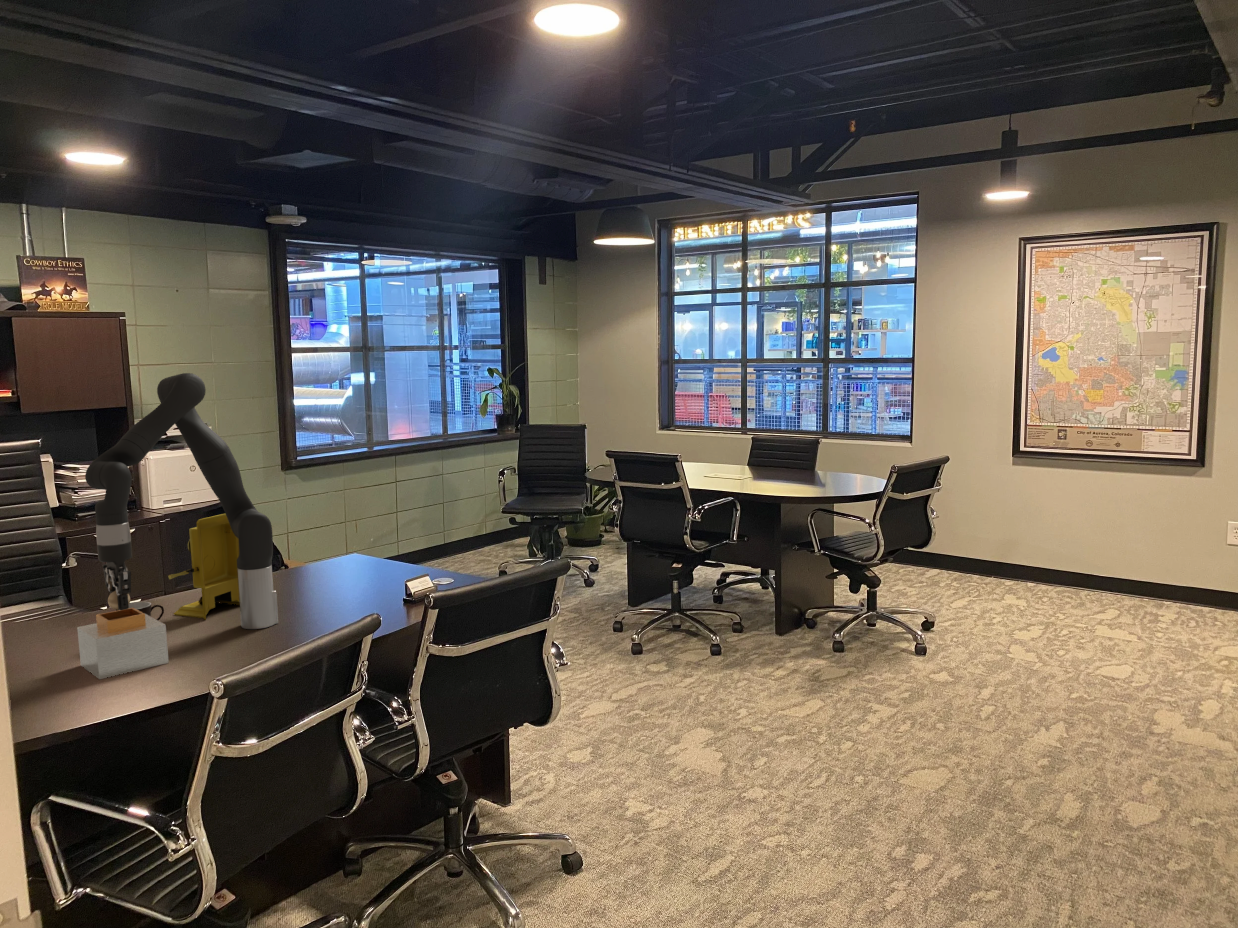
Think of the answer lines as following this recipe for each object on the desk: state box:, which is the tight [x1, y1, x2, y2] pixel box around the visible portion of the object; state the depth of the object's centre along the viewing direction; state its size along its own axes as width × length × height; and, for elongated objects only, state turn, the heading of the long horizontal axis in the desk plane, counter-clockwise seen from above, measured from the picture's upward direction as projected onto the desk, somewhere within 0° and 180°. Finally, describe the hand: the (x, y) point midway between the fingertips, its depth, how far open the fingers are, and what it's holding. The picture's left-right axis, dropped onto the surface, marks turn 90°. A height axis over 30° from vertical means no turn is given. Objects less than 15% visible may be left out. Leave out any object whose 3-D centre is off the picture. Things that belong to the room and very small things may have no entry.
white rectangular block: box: [76, 608, 169, 680], centre depth 234 cm, size 16×15×13 cm
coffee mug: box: [115, 601, 165, 621], centre depth 253 cm, size 12×9×10 cm
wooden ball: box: [107, 591, 131, 611], centre depth 232 cm, size 5×5×5 cm
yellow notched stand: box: [168, 513, 240, 621], centre depth 282 cm, size 31×14×30 cm, turn 160°
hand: (119, 607), depth 233 cm, fingers closed on wooden ball, 5 cm apart
